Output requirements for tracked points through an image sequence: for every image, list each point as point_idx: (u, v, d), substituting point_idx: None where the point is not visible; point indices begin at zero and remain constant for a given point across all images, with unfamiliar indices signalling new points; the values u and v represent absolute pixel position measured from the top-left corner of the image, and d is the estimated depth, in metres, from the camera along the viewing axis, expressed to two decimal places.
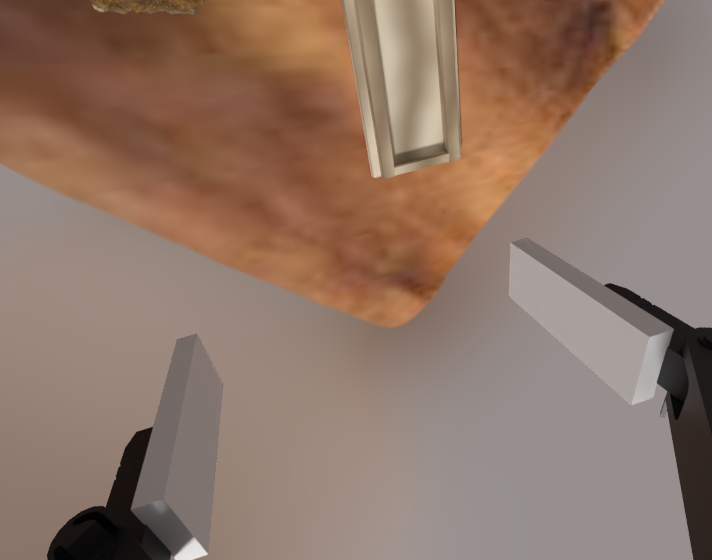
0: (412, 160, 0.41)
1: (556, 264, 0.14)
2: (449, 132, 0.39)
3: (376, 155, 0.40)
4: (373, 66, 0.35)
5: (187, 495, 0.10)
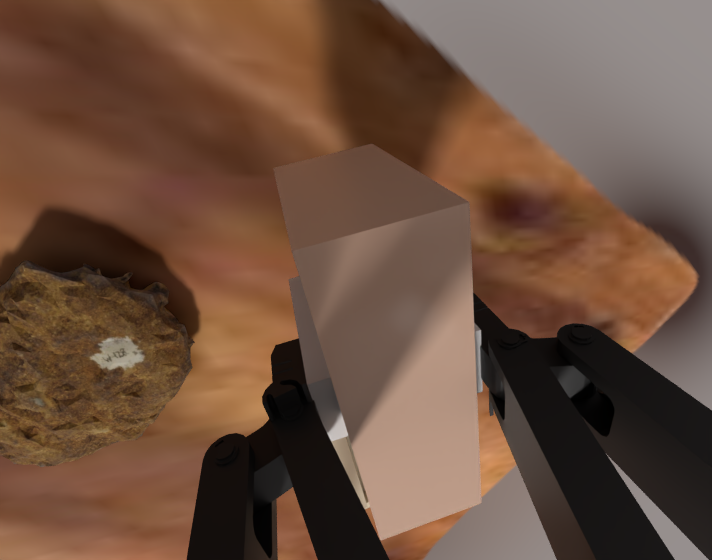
0: None
1: None
2: None
3: None
4: None
5: None
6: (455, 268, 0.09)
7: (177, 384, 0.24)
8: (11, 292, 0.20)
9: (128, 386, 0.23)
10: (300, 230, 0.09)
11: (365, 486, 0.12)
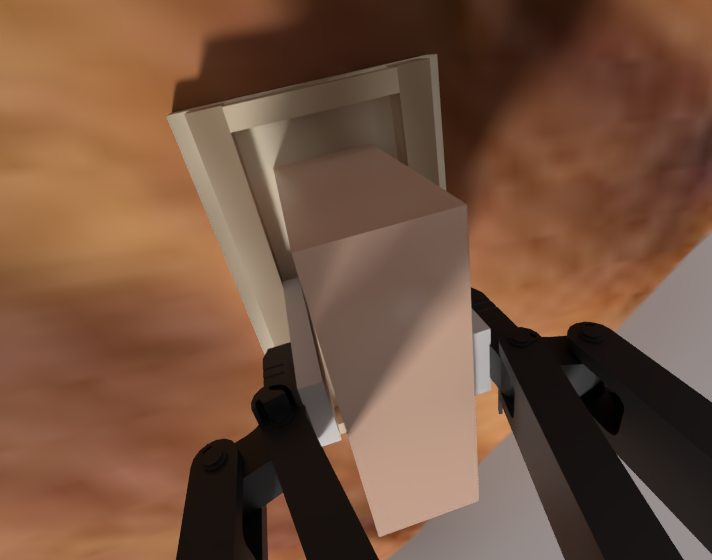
0: None
1: None
2: None
3: None
4: (266, 285, 0.16)
5: (327, 389, 0.12)
6: (453, 269, 0.09)
7: None
8: None
9: None
10: (299, 232, 0.09)
11: (364, 484, 0.13)
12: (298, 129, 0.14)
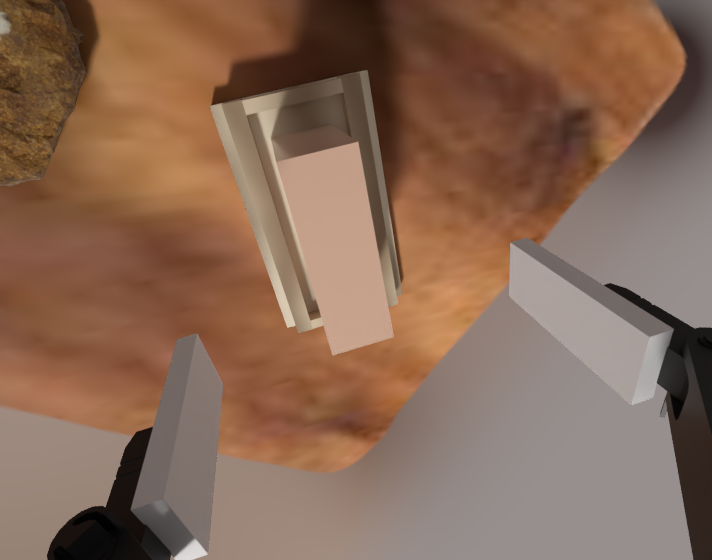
0: None
1: (556, 264, 0.14)
2: None
3: (287, 304, 0.31)
4: (266, 211, 0.26)
5: (187, 495, 0.10)
6: (355, 176, 0.19)
7: (68, 86, 0.20)
8: None
9: (2, 77, 0.19)
10: (281, 156, 0.19)
11: (320, 310, 0.22)
12: (285, 114, 0.24)
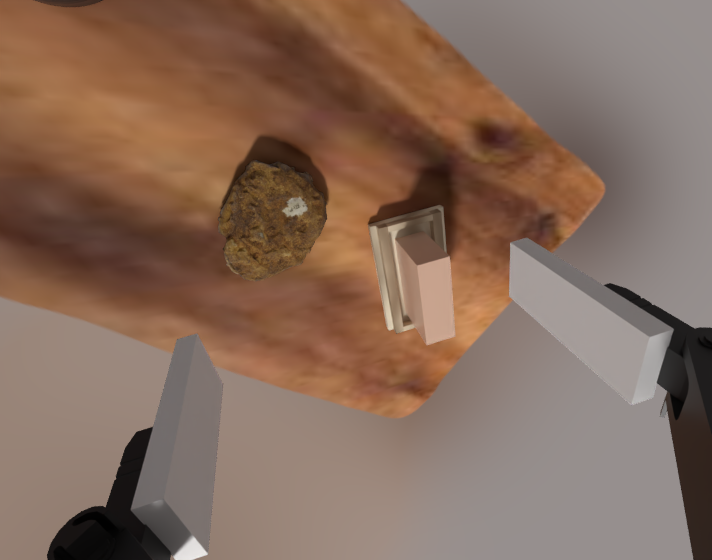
0: None
1: (556, 264, 0.14)
2: None
3: (390, 317, 0.57)
4: (390, 273, 0.52)
5: (187, 495, 0.10)
6: (447, 268, 0.45)
7: (321, 226, 0.46)
8: (248, 176, 0.42)
9: (299, 227, 0.45)
10: (416, 261, 0.45)
11: (424, 324, 0.48)
12: (403, 228, 0.50)
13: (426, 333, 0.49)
